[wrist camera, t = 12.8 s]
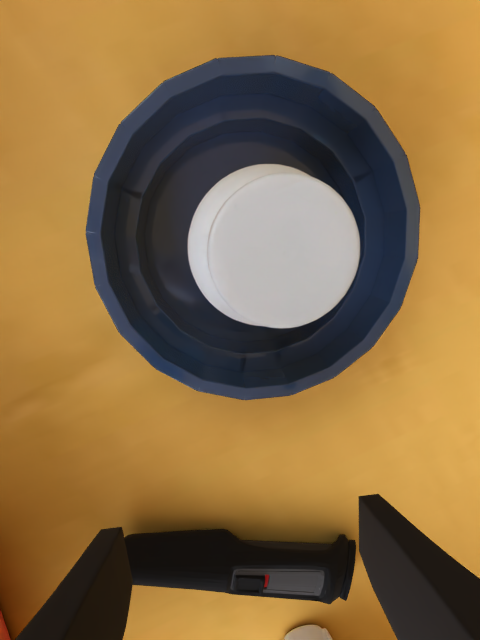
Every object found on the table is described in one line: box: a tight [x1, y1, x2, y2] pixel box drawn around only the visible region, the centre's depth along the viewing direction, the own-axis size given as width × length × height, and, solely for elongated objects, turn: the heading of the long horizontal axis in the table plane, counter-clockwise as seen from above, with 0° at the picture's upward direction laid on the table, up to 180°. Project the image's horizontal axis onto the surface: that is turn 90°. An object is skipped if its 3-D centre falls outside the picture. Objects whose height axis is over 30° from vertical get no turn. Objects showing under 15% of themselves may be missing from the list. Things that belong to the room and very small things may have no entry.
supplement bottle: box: [188, 164, 360, 328], centre depth 14 cm, size 5×5×10 cm
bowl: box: [86, 55, 420, 400], centre depth 17 cm, size 14×14×4 cm
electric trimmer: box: [124, 529, 356, 604], centre depth 22 cm, size 4×16×3 cm, turn 81°
